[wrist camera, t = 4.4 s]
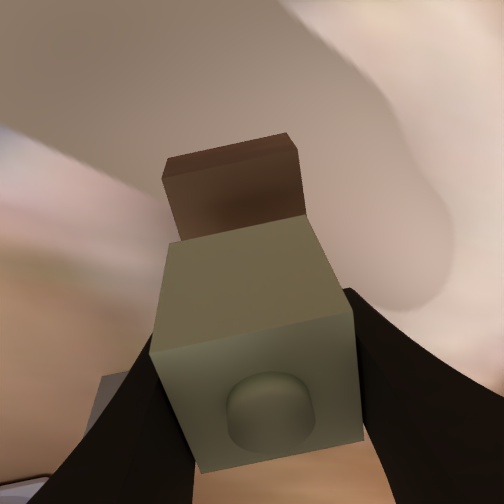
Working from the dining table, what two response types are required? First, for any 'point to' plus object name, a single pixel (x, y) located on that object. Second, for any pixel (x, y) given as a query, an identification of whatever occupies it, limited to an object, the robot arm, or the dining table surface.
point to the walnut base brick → (234, 186)
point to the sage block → (257, 346)
